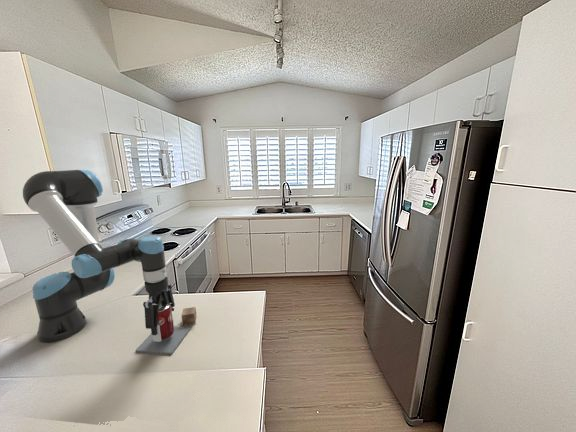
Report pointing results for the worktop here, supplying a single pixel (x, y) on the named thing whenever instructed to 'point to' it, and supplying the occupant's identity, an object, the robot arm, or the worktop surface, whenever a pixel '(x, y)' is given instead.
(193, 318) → the walnut block
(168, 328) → the soda can
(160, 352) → the coaster
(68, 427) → the worktop surface
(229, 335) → the worktop surface
